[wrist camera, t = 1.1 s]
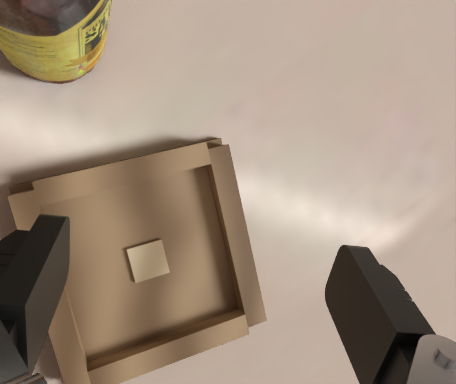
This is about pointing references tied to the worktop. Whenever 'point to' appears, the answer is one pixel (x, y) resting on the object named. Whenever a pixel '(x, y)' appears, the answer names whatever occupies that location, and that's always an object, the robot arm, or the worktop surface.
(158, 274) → the dock
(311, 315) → the worktop surface
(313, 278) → the worktop surface
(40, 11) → the sauce bottle
